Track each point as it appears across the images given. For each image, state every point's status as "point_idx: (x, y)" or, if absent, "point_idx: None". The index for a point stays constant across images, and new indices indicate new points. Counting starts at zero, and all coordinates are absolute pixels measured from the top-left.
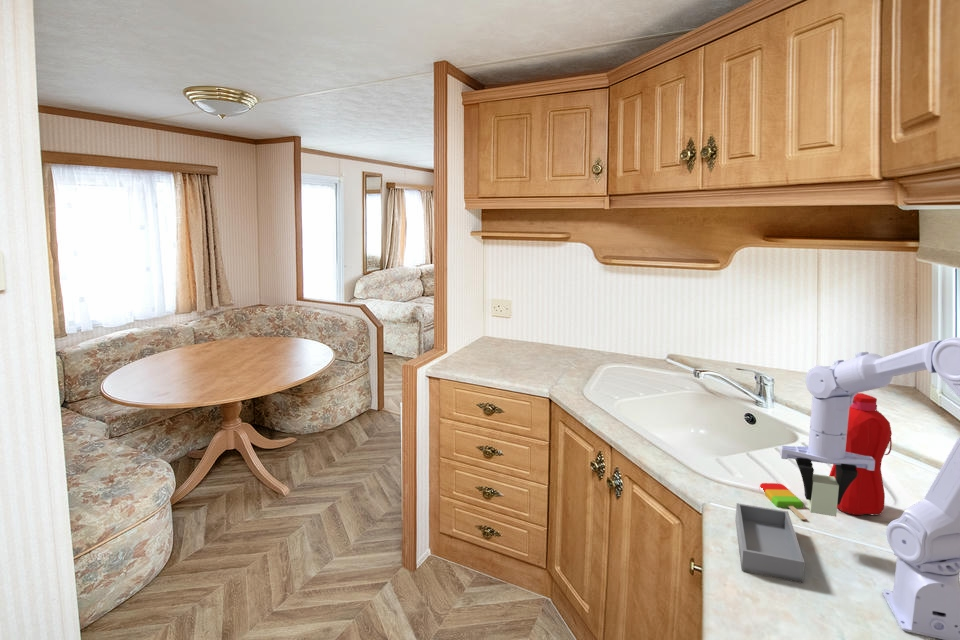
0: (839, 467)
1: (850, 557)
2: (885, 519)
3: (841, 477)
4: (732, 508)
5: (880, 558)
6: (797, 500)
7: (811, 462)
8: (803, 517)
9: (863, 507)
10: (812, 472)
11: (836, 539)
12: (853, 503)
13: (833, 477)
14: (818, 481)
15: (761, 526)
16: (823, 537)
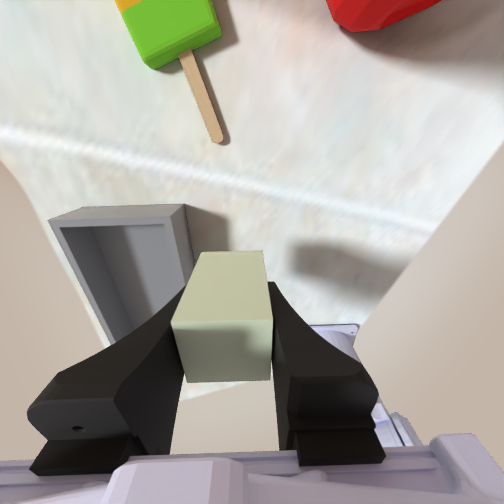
0: (284, 444)
1: (281, 260)
2: (444, 14)
3: (278, 430)
4: (53, 140)
5: (329, 245)
6: (200, 18)
7: (145, 449)
8: (217, 132)
9: (402, 5)
10: (168, 440)
11: (273, 205)
12: (373, 17)
13: (267, 328)
14: (204, 376)
15: (135, 230)
16: (250, 207)
